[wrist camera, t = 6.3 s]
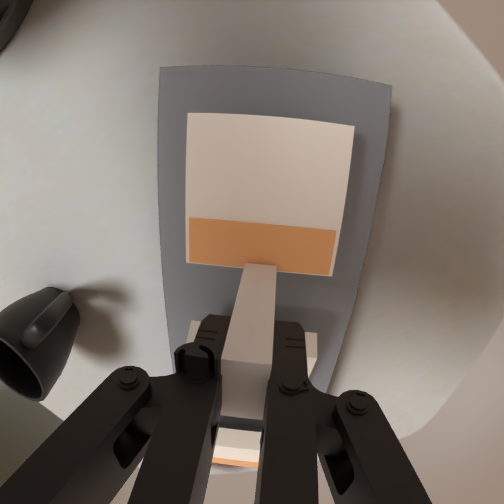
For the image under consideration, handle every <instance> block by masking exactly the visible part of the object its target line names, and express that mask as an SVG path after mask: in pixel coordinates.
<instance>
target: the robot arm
mask: <svg viewBox="0 0 504 504" xmlns="http://www.w3.org/2000/svg"><path fill="white" fill-rule="evenodd" d="M31 2H32V0H0V51H1V50H2V49H3V48H4V46H5V45H6V44H7V43H8V41H9V40H10V39H11V37H12V36H13V34H14V33H15V31H16V30H17V28H18V27H19V25H20V23H21V22H22V20H23V18H24V16H25V14H26V13H27V11H28V9H29V7H30V5H31ZM276 270H277V266H274V265H263V264H253V263H245V265H244V269H243V273H242V277H241V281H240V285H239V289H238V293H237V297H236V301H235V305H234V309H233V313H232V317H231V316H222V315H214V314H209V315H208V316H206V317H205V318H204V319H203V320H202V321H201V323H200V326H199V328H198V331H197V334H196V336H195V339H194V341H193V342H190V343H186V344H183V345H181V346H180V347H178V348H177V349H176V350H175V352H174V360H175V369H176V373H174V374H171V375H168V376H159V377H149V375H148V374H147V372H146V371H145V370H143V369H141V368H139V367H135V366H124V367H121V368H118V369H116V370H115V371H114V372H112V373H111V374H110V375H109V376H108V377H107V378H106V379H105V380H104V381H103V382H102V383H101V384H100V385H99V386H98V387H97V388H96V389H95V390H94V391H93V392H92V393H91V394H90V395H89V396H88V397H87V398H86V399H85V400H84V401H83V402H82V404H81V405H80V406H79V407H78V408H77V409H76V410H75V411H74V412H73V413H72V414H71V415H70V416H69V417H68V418H67V419H66V420H65V421H64V422H63V423H62V424H61V425H60V426H59V427H58V428H57V429H56V430H55V431H54V432H53V433H52V434H51V435H50V436H49V437H48V438H47V439H46V440H45V441H44V442H43V443H42V445H40V447H39V448H38V449H37V450H36V451H35V452H34V453H33V454H32V455H31V456H30V457H29V458H28V459H27V460H26V461H25V462H24V463H23V464H22V465H21V466H20V467H19V468H18V469H17V471H16V472H15V473H14V474H13V475H12V476H11V477H10V478H9V479H8V480H7V481H6V482H5V483H4V484H3V485H2V486H1V487H0V504H109V503H110V502H111V501H112V500H113V498H114V497H115V496H116V494H117V493H118V491H119V490H120V489H121V488H122V486H123V485H124V483H125V482H126V481H127V479H128V478H129V477H130V475H131V474H132V473H133V471H134V470H135V468H136V467H137V466H138V464H139V463H140V462H141V460H142V459H143V457H144V459H143V461H142V464H141V467H140V470H139V472H138V476H137V478H136V481H135V484H134V487H133V489H132V492H131V495H130V498H129V501H128V503H127V504H203V502H204V497H205V492H206V488H207V483H208V478H209V473H210V468H211V463H212V458H213V454H214V449H215V444H216V439H217V434H218V429H219V416H220V411H221V415H224V416H231V417H240V418H248V419H258V420H263V426H262V432H261V438H260V453H259V463H258V473H257V484H256V493H255V503H254V504H318V471H317V453H318V457H319V460H320V462H321V465H322V468H323V471H324V474H325V477H326V480H327V482H328V485H329V487H330V491H331V494H332V496H333V499H334V502H335V504H432V502H431V501H430V499H429V497H428V495H427V493H426V491H425V489H424V487H423V485H422V483H421V482H420V480H419V478H418V476H417V474H416V472H415V470H414V468H413V466H412V465H411V463H410V461H409V459H408V457H407V455H406V453H405V452H404V450H403V448H402V446H401V444H400V443H399V440H398V439H397V437H396V435H395V433H394V431H393V430H392V428H391V426H390V424H389V422H388V421H387V419H386V417H385V415H384V413H383V412H382V410H381V408H380V406H379V404H378V403H377V401H376V400H375V399H374V398H373V396H371V395H370V394H368V393H366V392H363V391H359V390H349V391H346V392H343V393H342V394H341V395H340V396H339V397H336V396H332V395H329V394H326V393H323V392H321V391H319V390H318V389H316V388H315V387H314V386H313V385H312V383H311V381H310V380H309V378H308V368H307V354H306V342H305V330H304V329H303V328H302V326H301V325H300V323H299V322H289V321H278V320H274V315H275V294H276Z"/></svg>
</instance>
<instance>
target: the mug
mask: <svg viewBox="0 0 504 504" xmlns="http://www.w3.org/2000/svg"><path fill="white" fill-rule="evenodd" d="M79 324H80V317H79V313H78V310H77V308H76V306H75V305H74V303H73V298H72V296H71V294H69V293H68V292H61V291H60V290H58V289H55V288H51V287H47V288H44V289H42V290H40V291H38V292H35V293H33V294H30V295H28V296H26V297H23V298H21V299H19V300H18V301H16V302H14V303H12V304H11V305H9V306H8V307H6V308H5V309H4V310H2V311H1V312H0V380H1V381H2V382H3V383H4V384H5V385H7V386H8V387H9V388H10V389H11V390H13V391H14V392H16V393H17V394H19V395H20V396H22V397H24V398H26V399H28V400H32V401H37V402H39V401H43V400H44V399H45V398H46V397H47V395H48V393H49V392H50V390H51V389H52V387H53V386H54V384H55V383H56V381H57V379H58V378H59V376H60V375H61V373H62V371H63V369H64V367H65V365H66V362H67V360H68V357H69V355H70V352H71V349H72V346H73V342H74V339H75V335H76V332H77V329H78V327H79Z"/></svg>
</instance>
